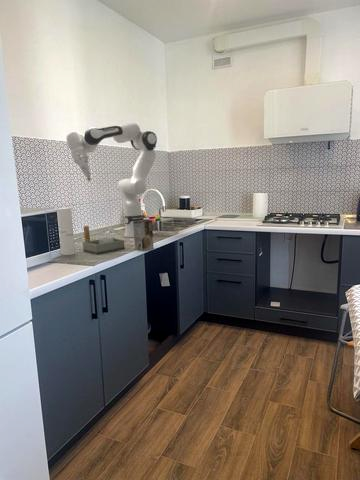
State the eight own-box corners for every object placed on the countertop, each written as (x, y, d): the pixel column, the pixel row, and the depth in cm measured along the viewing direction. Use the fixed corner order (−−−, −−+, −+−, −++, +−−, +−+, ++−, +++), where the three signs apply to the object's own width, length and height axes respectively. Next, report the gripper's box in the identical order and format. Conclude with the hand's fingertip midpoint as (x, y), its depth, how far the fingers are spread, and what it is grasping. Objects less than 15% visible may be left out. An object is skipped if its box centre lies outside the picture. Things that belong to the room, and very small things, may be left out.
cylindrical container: (63, 252, 201) (59, 207, 196) (76, 251, 201) (72, 207, 197) (60, 255, 194) (55, 209, 189) (73, 254, 194) (69, 208, 190)
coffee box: (145, 247, 207) (144, 219, 204) (154, 248, 203) (152, 220, 200) (134, 250, 200) (132, 221, 198) (142, 251, 196) (140, 222, 194)
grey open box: (110, 245, 216) (109, 234, 214) (124, 248, 205) (123, 236, 204) (83, 250, 204) (82, 238, 202) (96, 254, 193) (95, 241, 192)
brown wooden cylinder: (89, 247, 212) (87, 225, 210) (91, 248, 210) (89, 226, 208) (84, 248, 210) (82, 226, 208) (87, 249, 208) (85, 226, 206)
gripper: (82, 150, 207) (90, 172, 206) (88, 161, 227) (95, 181, 227) (72, 153, 206) (80, 175, 206) (78, 164, 227) (86, 184, 226)
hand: (88, 178), depth 216 cm, fingers open, 8 cm apart
